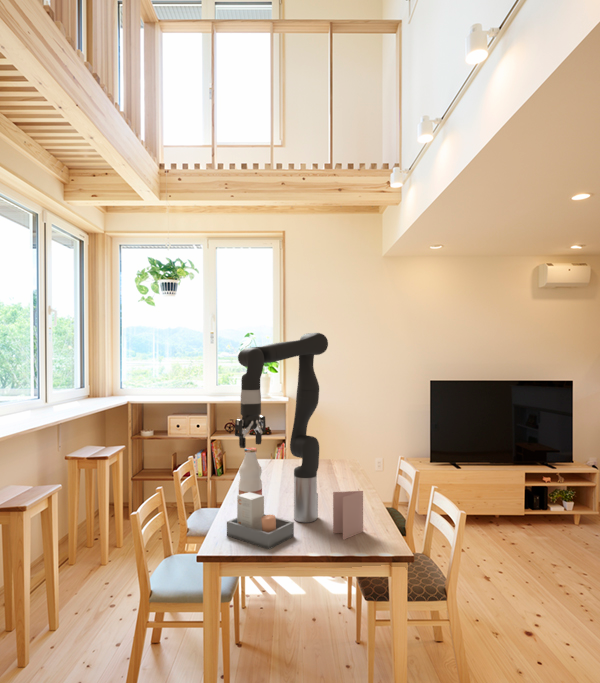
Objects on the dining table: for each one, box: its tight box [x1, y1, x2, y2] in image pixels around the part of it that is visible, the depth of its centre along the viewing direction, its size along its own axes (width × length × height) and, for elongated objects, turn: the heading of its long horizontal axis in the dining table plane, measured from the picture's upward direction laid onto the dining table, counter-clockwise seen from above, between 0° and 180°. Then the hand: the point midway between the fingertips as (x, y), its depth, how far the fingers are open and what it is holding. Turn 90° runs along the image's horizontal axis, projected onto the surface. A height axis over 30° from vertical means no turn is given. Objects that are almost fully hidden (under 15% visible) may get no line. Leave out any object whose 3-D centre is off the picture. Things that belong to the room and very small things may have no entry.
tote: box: [226, 513, 295, 550], centre depth 164 cm, size 14×20×5 cm
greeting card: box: [332, 490, 364, 541], centre depth 165 cm, size 11×7×15 cm, turn 98°
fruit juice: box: [238, 447, 263, 496], centre depth 182 cm, size 9×9×28 cm
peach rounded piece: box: [261, 514, 277, 533], centre depth 160 cm, size 5×5×7 cm
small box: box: [236, 492, 265, 531], centre depth 166 cm, size 8×6×13 cm
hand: (250, 446), depth 167 cm, fingers open, 8 cm apart
